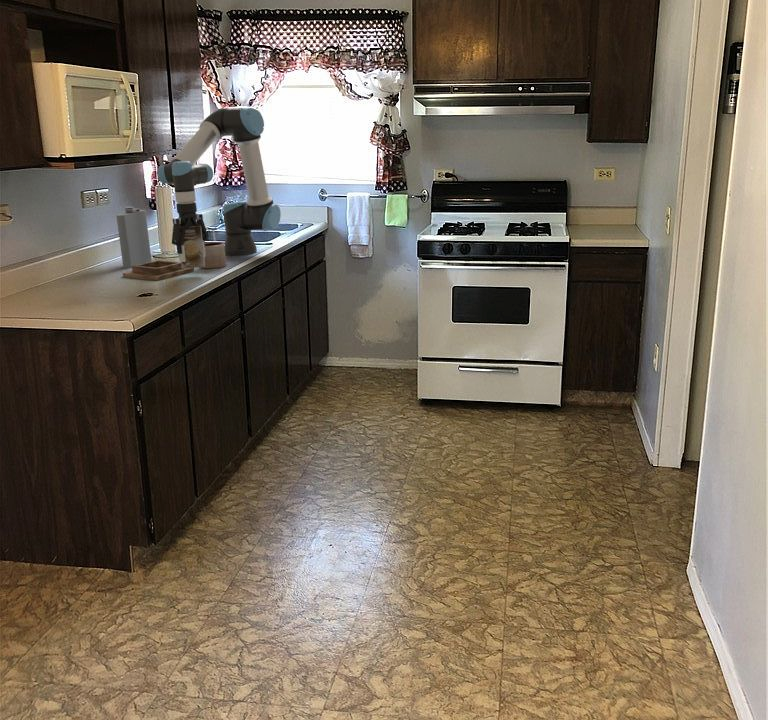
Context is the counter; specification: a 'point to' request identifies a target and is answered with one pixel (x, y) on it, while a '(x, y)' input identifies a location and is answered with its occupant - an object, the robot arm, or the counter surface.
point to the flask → (133, 237)
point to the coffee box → (193, 248)
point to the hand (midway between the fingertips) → (192, 259)
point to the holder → (157, 270)
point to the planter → (214, 255)
